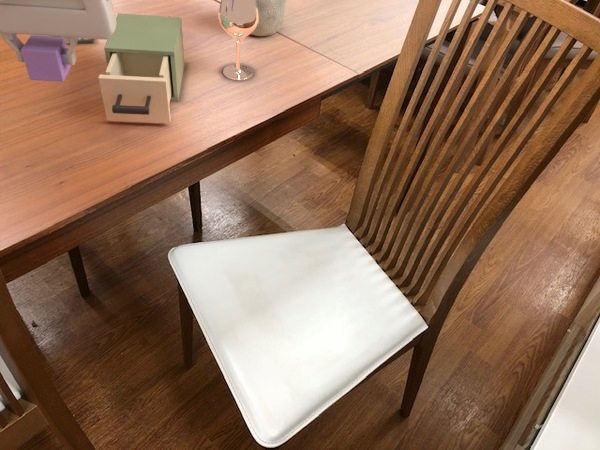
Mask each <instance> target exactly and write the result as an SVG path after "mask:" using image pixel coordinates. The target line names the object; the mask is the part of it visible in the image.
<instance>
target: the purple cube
mask: <svg viewBox="0 0 600 450" xmlns="http://www.w3.org/2000/svg"><path fill="white" fill-rule="evenodd" d="M63 48H68V46H67V44H66V43H65V39H64V37H55V36H44V35H30V36H29V37H28V39H27V40H26V42H25V43H24V46H23V48H22V49H21V52H22V55H23V59H24V62H23V63H24V65H25V69H26V71H27V75H28V77H29V81H41V82H57V83H58V82H59V83H60V82H61V83H63V82H65V79H66V78H67V75H68V74H69V72H70V70H71V68H72V65H64V64H63V63H62V59H61V55H60V54H61V52H62V50H63Z"/></svg>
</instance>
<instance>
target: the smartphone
mask: <svg viewBox="0 0 600 450" xmlns="http://www.w3.org/2000/svg"><path fill="white" fill-rule="evenodd" d="M55 37H59V36H55ZM79 44H94V39H90V38H79V40H78V42H77V45H79ZM66 45H70V43H69V44H67V43H66Z"/></svg>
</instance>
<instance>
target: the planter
mask: <svg viewBox="0 0 600 450" xmlns="http://www.w3.org/2000/svg"><path fill="white" fill-rule="evenodd" d="M256 2H257V7H258V13H259V22H258V25H257V27H256V28H255V30H254V31H253V32H252V33H251V34H250V35H251V36H255V37H268V36H272V35H274V34H276V33H277V32H279V31H280V29H281V28H282V26H283V23H284V17H285V11H286V2H287V0H256Z"/></svg>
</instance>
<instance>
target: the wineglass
mask: <svg viewBox="0 0 600 450" xmlns="http://www.w3.org/2000/svg"><path fill="white" fill-rule="evenodd" d="M217 17H218V22H219V25H220V26H221V28H222V29H223V30H224V32H225V33H226V34H228V35H229V36H230V37H231V38H232V39H233V40H234V41H235V44H236V46H235V47H236V49H235V51H236V52H235V64H229V65H227V66H225V67H224V68H223V69H222V74H223V75H224V77H226V78H227V79H229V80H232V81H233V80H234V81H245V80H248V79H250V78H251V77H252V76H253V70H252V69H251V68H250V67H248V66H246V65H243V64H241V42H242V41H243V40H244V39H245V38H247V37H248V36H250V35H251V33H252V32H253V31H254V30H255V28H256V27H257V25H258V22H259V13H258V7H257V2H256V0H220V3H219V7H218V15H217Z"/></svg>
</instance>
